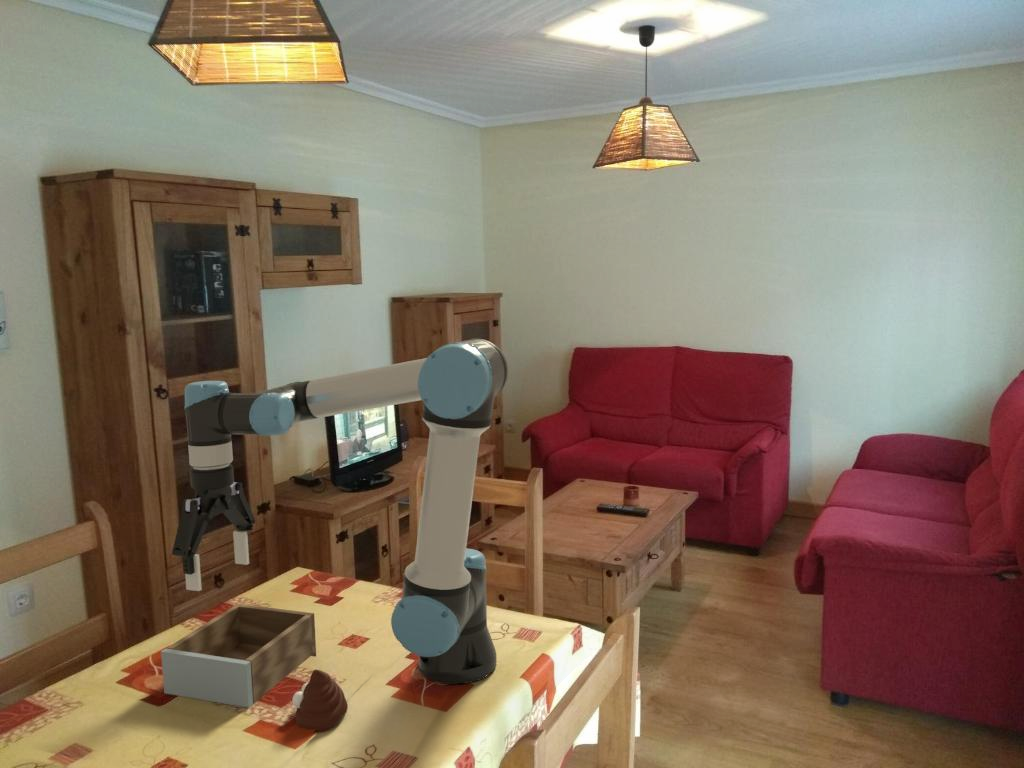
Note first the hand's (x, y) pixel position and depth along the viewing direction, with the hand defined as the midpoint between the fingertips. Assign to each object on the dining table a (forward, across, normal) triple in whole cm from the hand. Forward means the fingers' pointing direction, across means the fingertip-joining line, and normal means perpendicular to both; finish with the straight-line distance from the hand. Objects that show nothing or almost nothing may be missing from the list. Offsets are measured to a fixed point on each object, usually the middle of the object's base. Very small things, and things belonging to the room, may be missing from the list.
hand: (219, 576), depth 147 cm
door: (+19, +9, +3) cm, 22 cm away
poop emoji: (+21, +7, +25) cm, 33 cm away
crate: (+20, -2, +3) cm, 21 cm away
